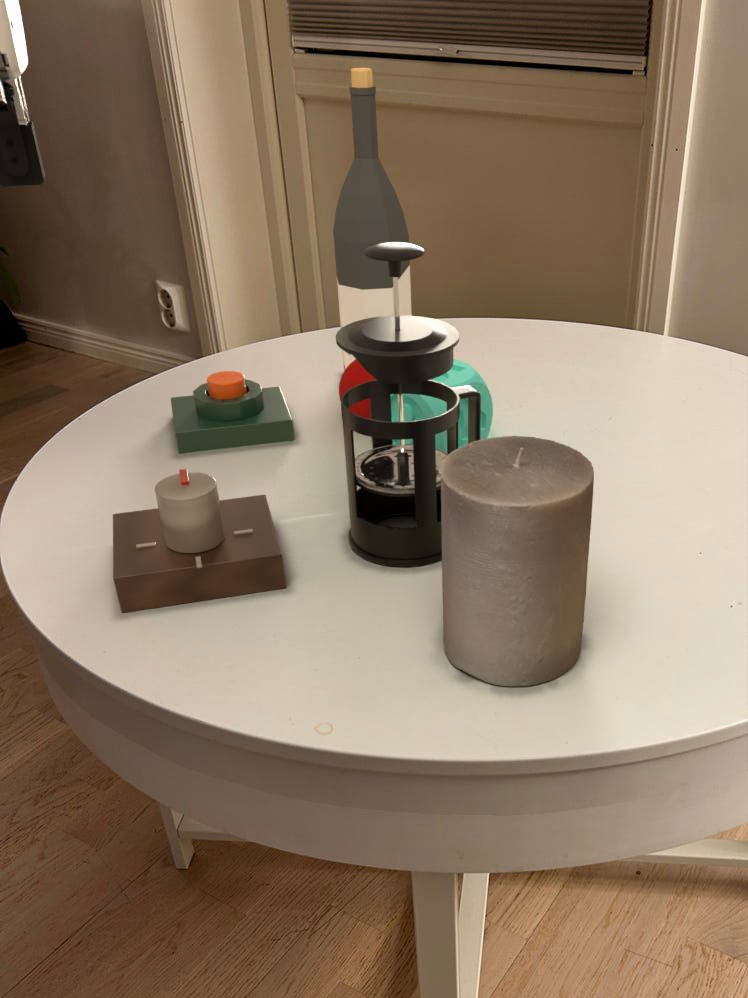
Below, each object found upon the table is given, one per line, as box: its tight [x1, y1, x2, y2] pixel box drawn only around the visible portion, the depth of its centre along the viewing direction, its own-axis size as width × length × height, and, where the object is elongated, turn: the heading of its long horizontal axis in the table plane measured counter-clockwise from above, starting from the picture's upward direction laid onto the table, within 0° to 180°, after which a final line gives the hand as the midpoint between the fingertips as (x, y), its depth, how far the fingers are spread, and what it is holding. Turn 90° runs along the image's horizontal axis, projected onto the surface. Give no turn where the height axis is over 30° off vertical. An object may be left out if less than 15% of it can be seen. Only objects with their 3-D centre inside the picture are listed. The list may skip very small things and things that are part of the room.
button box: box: [170, 379, 295, 455], centre depth 98 cm, size 11×9×4 cm
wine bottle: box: [332, 67, 413, 371], centre depth 102 cm, size 8×8×30 cm
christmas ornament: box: [338, 359, 376, 419], centre depth 97 cm, size 7×7×10 cm
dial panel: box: [112, 494, 287, 613], centre depth 77 cm, size 12×10×3 cm
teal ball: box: [390, 358, 494, 453], centre depth 93 cm, size 8×8×8 cm
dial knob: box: [154, 468, 225, 553], centre depth 74 cm, size 4×4×5 cm
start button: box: [206, 370, 247, 399], centre depth 97 cm, size 4×4×2 cm
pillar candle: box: [438, 435, 595, 687], centre depth 65 cm, size 10×10×15 cm
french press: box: [335, 242, 481, 568], centre depth 75 cm, size 12×9×23 cm
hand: (22, 182), depth 75 cm, fingers closed
